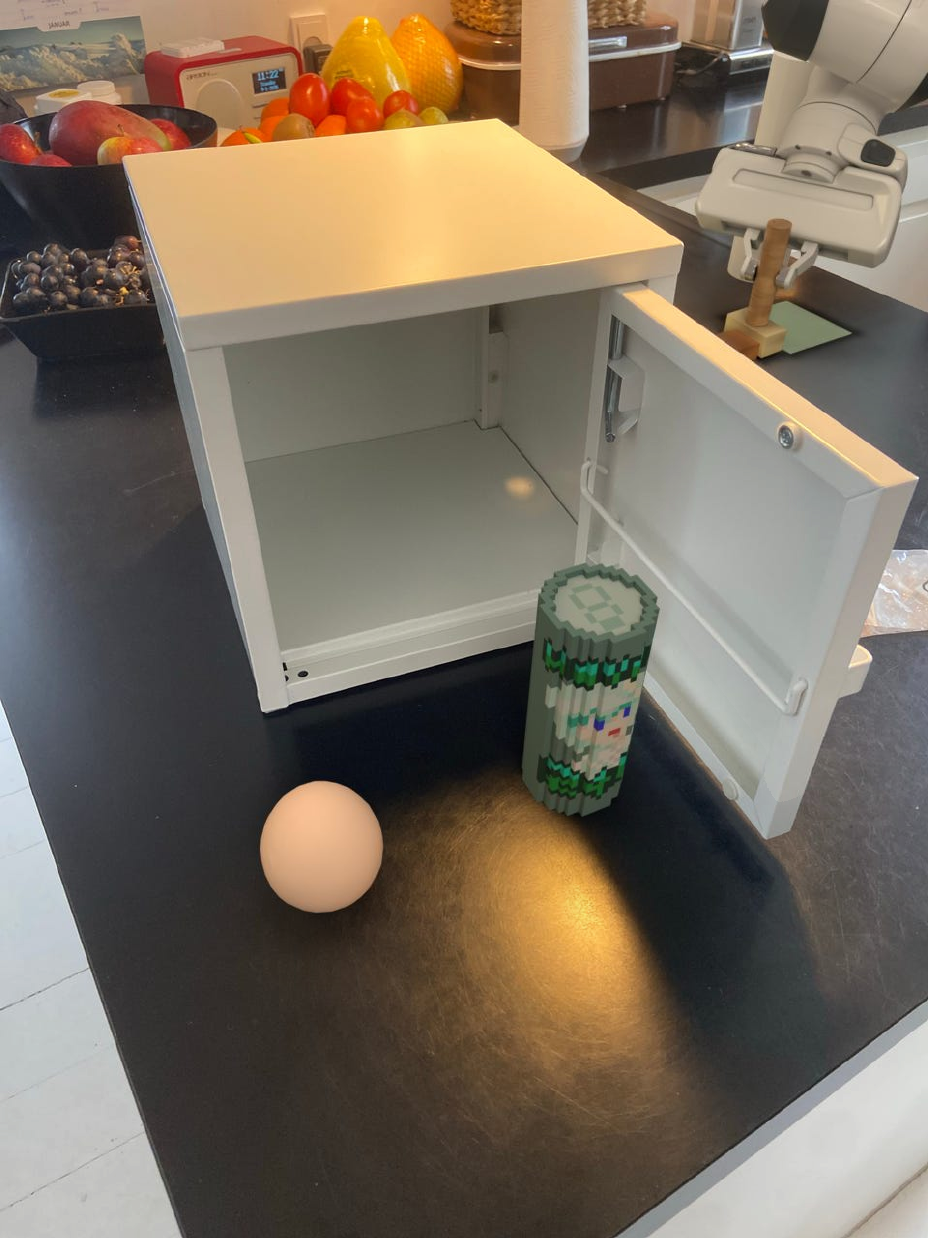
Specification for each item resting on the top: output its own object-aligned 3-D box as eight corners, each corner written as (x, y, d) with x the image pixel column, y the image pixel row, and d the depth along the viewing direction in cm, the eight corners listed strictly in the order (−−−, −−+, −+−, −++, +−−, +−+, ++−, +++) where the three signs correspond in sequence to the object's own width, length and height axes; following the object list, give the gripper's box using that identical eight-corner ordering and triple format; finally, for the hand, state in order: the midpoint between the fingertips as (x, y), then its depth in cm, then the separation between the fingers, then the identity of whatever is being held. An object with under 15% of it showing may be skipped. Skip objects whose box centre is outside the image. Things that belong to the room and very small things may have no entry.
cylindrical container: (745, 264, 120) (795, 43, 103) (793, 281, 116) (853, 55, 99) (714, 279, 116) (760, 53, 99) (763, 297, 112) (820, 65, 95)
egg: (406, 900, 52) (402, 819, 46) (299, 959, 49) (281, 880, 44) (353, 817, 56) (343, 733, 51) (251, 866, 53) (229, 784, 48)
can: (553, 828, 56) (578, 655, 45) (507, 756, 60) (521, 582, 49) (637, 794, 58) (679, 620, 47) (587, 726, 62) (616, 553, 51)
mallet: (722, 334, 101) (747, 215, 92) (742, 327, 102) (769, 209, 93) (761, 358, 98) (791, 237, 88) (781, 350, 99) (813, 230, 89)
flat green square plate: (783, 309, 110) (786, 300, 109) (849, 342, 104) (852, 332, 103) (723, 328, 106) (725, 318, 105) (787, 363, 100) (790, 353, 99)
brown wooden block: (727, 353, 101) (733, 328, 99) (753, 369, 99) (760, 343, 97) (700, 362, 100) (706, 336, 98) (726, 377, 97) (732, 351, 95)
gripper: (721, 120, 95) (666, 244, 96) (924, 157, 87) (862, 292, 88) (728, 155, 101) (676, 272, 101) (919, 194, 93) (861, 320, 93)
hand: (764, 282), depth 94 cm, fingers closed on mallet, 2 cm apart
